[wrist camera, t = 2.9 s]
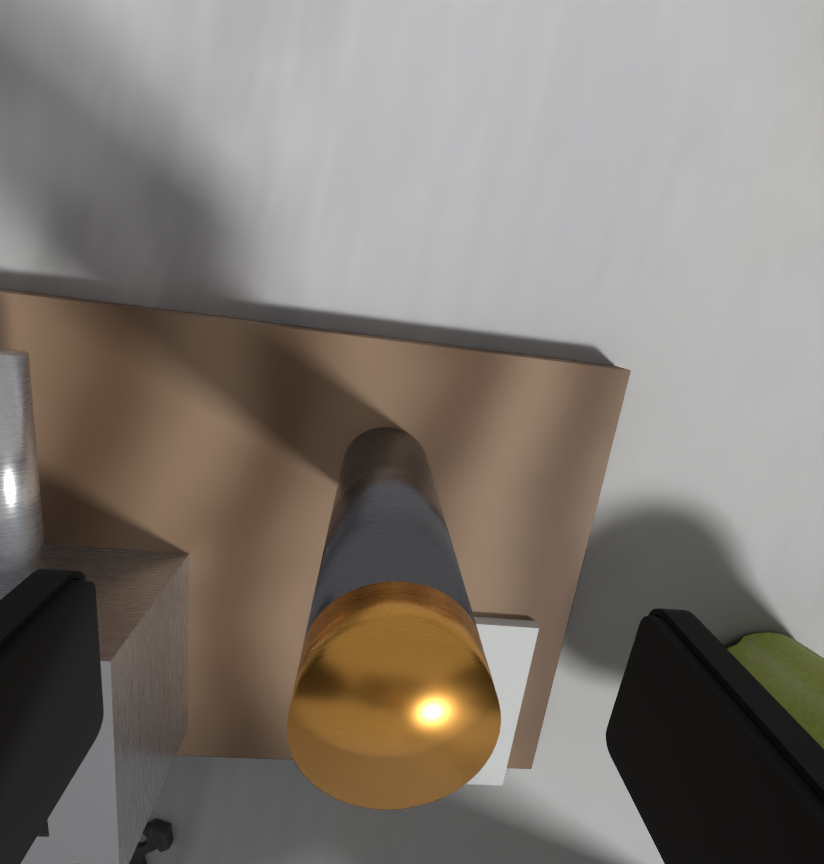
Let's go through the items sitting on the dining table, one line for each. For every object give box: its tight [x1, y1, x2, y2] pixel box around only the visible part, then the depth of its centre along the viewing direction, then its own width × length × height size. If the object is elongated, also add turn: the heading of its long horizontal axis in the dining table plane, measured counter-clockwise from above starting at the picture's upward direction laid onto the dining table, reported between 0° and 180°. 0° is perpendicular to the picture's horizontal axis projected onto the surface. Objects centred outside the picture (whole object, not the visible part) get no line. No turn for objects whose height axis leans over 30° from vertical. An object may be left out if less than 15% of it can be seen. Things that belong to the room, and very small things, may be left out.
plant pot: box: [727, 632, 824, 749], centre depth 21 cm, size 9×9×9 cm
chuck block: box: [0, 348, 189, 864], centre depth 16 cm, size 9×17×6 cm, turn 173°
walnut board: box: [0, 289, 630, 769], centre depth 21 cm, size 28×20×1 cm
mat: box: [466, 617, 539, 785], centre depth 22 cm, size 9×9×1 cm
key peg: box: [287, 427, 501, 810], centre depth 13 cm, size 3×3×12 cm
